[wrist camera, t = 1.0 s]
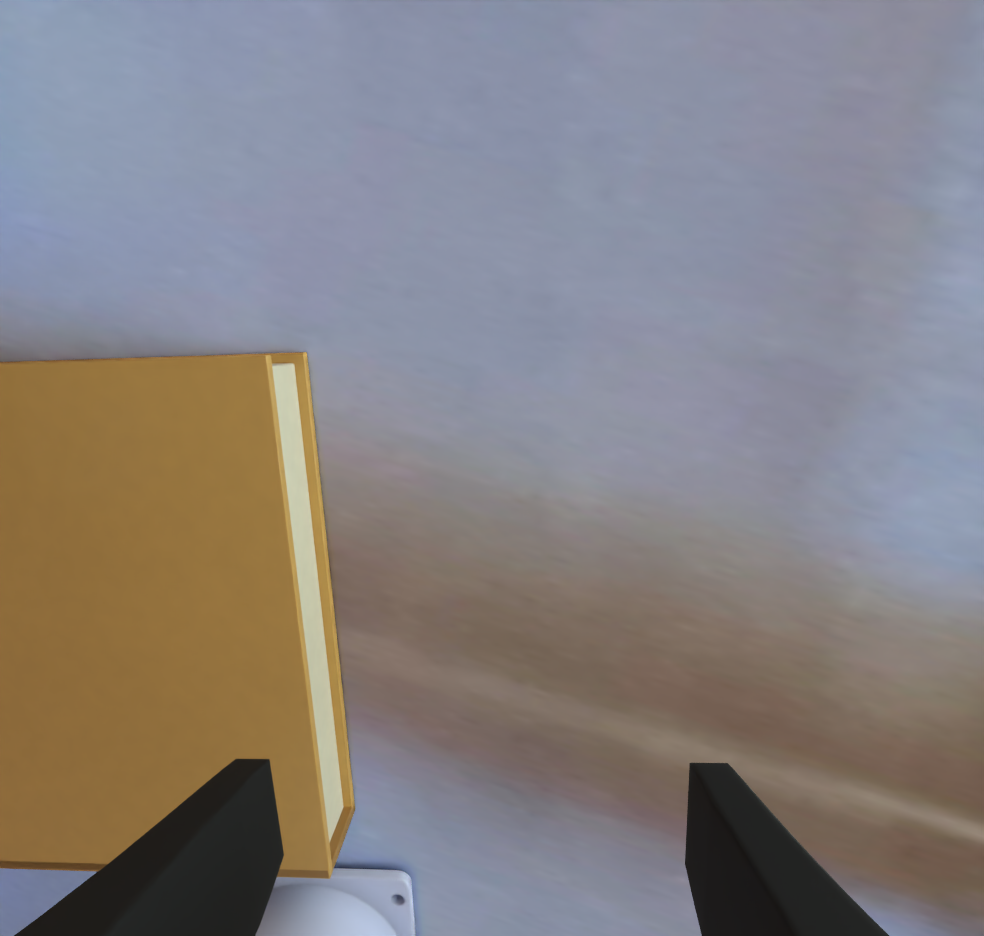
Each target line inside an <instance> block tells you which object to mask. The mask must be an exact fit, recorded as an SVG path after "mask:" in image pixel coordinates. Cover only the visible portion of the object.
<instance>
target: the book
mask: <svg viewBox="0 0 984 936" xmlns="http://www.w3.org/2000/svg"><path fill="white" fill-rule="evenodd" d="M235 759H270V766H271V772H272V779H273V785H274V792H275V799H276V805H277V812H278V818H279V825H280V832H281V838H282V845H283V851H284V857H283V860H282V863H281V866H280V869H279V872H278V875H277V877H290V878H321V879H330V877H331V875H332V872H333V869H334V866H335V863H336V861H337V858H338V855H339V852H340V850H341V847H342V844H343V841H344V839H345V836H346V833H347V830H348V828H349V825H350V822H351V819H352V817H353V814H354V811H355V804H354V794H353V785H352V775H351V766H350V756H349V747H348V737H347V728H346V718H345V709H344V699H343V690H342V681H341V671H340V662H339V652H338V643H337V633H336V624H335V614H334V605H333V595H332V586H331V576H330V567H329V557H328V548H327V539H326V529H325V520H324V510H323V501H322V491H321V482H320V472H319V463H318V453H317V444H316V434H315V425H314V415H313V406H312V397H311V387H310V378H309V368H308V359H307V353H306V352H299V353H268V354H237V355H206V356H175V357H143V358H112V359H81V360H50V361H19V362H0V868H9V869H40V870H71V871H99V870H101V869H102V868H103V867H105V866H106V865H107V864H109V863H110V862H111V861H112V860H114V859H115V858H116V857H117V856H118V855H120V854H121V853H122V852H123V851H125V850H126V849H127V848H128V847H129V846H131V845H132V844H133V843H134V842H135V841H137V840H138V839H139V838H140V837H142V836H143V835H144V834H145V833H146V832H148V831H149V830H150V829H151V828H152V827H154V826H155V825H156V824H157V823H159V822H160V821H161V820H162V819H163V818H165V817H166V816H167V815H168V814H169V813H171V812H172V811H173V810H174V809H175V808H177V807H178V806H179V805H180V804H181V803H182V802H184V801H185V800H186V799H187V798H188V797H190V796H191V795H192V794H193V793H194V792H196V791H197V790H198V789H199V788H200V787H202V786H203V785H204V784H205V783H206V782H208V781H209V780H210V779H211V778H212V777H214V776H215V775H216V774H217V773H218V772H220V771H221V770H222V769H223V768H225V767H226V766H227V765H229V764H230V763H231V762H232V761H234V760H235Z"/></svg>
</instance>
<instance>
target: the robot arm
mask: <svg viewBox="0 0 984 936" xmlns="http://www.w3.org/2000/svg"><path fill="white" fill-rule="evenodd" d="M283 857H284V851H283V845H282V838H281V832H280V825H279V818H278V812H277V805H276V799H275V792H274V785H273V779H272V772H271V766H270V759H235V760H234V761H232V762H231V763H230V764H229V765H227V766H226V767H225V768H223V769H222V770H221V771H220V772H218V773H217V774H216V775H215V776H214V777H212V778H211V779H210V780H209V781H208V782H206V783H205V784H204V785H203V786H202V787H200V788H199V789H198V790H197V791H196V792H194V793H193V794H192V795H191V796H190V797H188V798H187V799H186V800H185V801H184V802H182V803H181V804H180V805H179V806H178V807H177V808H175V809H174V810H173V811H172V812H171V813H169V814H168V815H167V816H166V817H165V818H163V819H162V820H161V821H160V822H159V823H157V824H156V825H155V826H154V827H152V828H151V829H150V830H149V831H148V832H146V833H145V834H144V835H143V836H142V837H140V838H139V839H138V840H137V841H135V842H134V843H133V844H132V845H131V846H129V847H128V848H127V849H126V850H125V851H123V852H122V853H121V854H120V855H118V856H117V857H116V858H115V859H114V860H112V861H111V862H110V863H109V864H107V865H106V866H105V867H103V868H102V869H101V870H99V871H98V872H97V873H96V874H94V875H93V876H92V877H90V878H89V879H88V880H87V881H85V882H84V883H83V884H81V885H80V886H79V887H78V888H76V889H75V890H74V891H72V892H71V893H70V894H68V895H67V896H66V897H65V898H63V899H62V900H61V901H59V902H58V903H57V904H56V905H54V906H53V907H52V908H50V909H49V910H48V911H47V912H45V913H44V914H43V915H41V916H40V917H39V918H37V919H36V920H35V921H33V922H32V923H31V924H29V925H28V926H27V927H25V928H24V929H23V930H21V931H20V932H19V933H17V934H16V935H14V936H416V931H415V919H414V906H413V894H412V882H411V878H410V876H409V875H408V874H407V873H405V872H404V871H400V870H379V869H346V868H334V869H333V872H332V875H331V877H330V879H321V878H290V877H277V875H278V872H279V869H280V866H281V863H282V860H283ZM685 865H686V870H687V874H688V878H689V883H690V887H691V892H692V896H693V900H694V905H695V909H696V913H697V917H698V921H699V925H700V929H701V934H702V936H889V935H888V934H887V933H886V932H885V931H884V930H883V929H882V928H881V927H880V926H879V925H878V924H877V923H876V922H875V921H874V920H873V919H872V918H871V917H870V916H869V915H868V914H867V913H866V912H865V911H864V910H863V909H862V908H861V907H860V906H859V905H858V904H857V903H856V902H855V901H854V900H853V899H852V898H851V897H850V896H849V895H848V894H847V893H846V892H845V891H844V890H843V889H842V888H841V887H840V886H839V885H838V884H837V883H836V882H835V881H834V880H833V878H832V877H831V876H830V875H829V874H828V873H827V872H826V871H825V870H824V869H823V868H822V867H821V866H820V865H819V864H818V863H817V862H816V861H815V860H814V859H813V857H812V856H811V855H810V854H809V853H808V852H807V851H806V850H805V849H804V848H803V847H802V846H801V845H800V843H799V842H798V841H797V840H796V839H795V838H794V837H793V836H792V835H791V834H790V833H789V831H788V830H787V829H786V828H785V827H784V826H783V825H782V824H781V823H780V821H779V820H778V819H777V818H776V817H775V816H774V815H773V814H772V813H771V811H770V810H769V809H768V808H767V807H766V806H765V805H764V803H763V802H762V801H761V800H760V799H759V798H758V797H757V796H756V794H755V793H754V792H753V791H752V790H751V789H750V788H749V786H748V785H747V784H746V783H745V782H744V781H743V780H742V778H741V777H740V776H739V775H738V774H737V773H736V772H735V770H734V769H733V768H732V767H731V766H730V765H729V764H728V763H690V770H689V791H688V813H687V835H686V856H685ZM397 894H398V895H397Z"/></svg>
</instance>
